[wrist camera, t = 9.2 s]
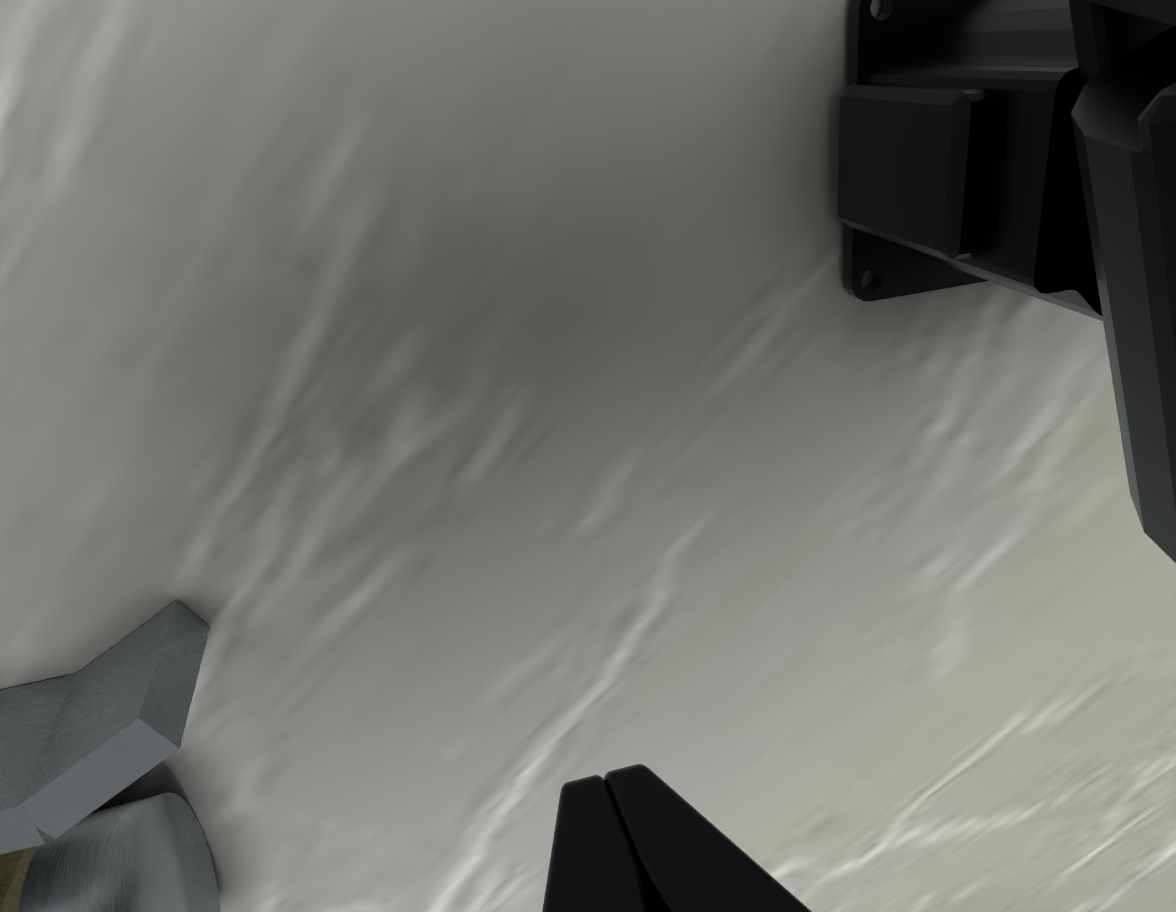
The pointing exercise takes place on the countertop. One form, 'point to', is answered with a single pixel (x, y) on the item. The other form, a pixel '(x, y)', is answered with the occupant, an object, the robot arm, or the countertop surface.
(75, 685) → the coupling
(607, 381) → the countertop surface
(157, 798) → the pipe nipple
